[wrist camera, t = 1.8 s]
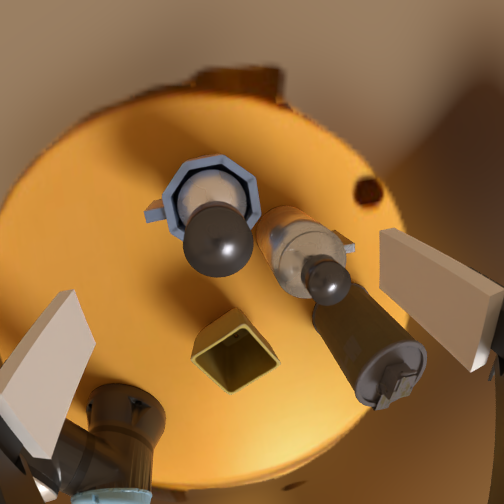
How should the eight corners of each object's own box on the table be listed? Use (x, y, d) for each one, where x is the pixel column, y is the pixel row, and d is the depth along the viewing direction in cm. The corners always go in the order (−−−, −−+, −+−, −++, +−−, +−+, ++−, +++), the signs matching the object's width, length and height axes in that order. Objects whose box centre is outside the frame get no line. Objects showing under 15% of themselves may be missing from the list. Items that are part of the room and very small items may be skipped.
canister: (317, 282, 48) (379, 360, 29) (375, 281, 50) (450, 347, 31) (307, 342, 51) (352, 429, 33) (361, 338, 53) (419, 413, 34)
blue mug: (167, 231, 42) (154, 262, 31) (153, 165, 39) (133, 173, 28) (248, 215, 43) (265, 240, 32) (237, 149, 40) (251, 149, 29)
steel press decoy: (260, 266, 46) (292, 332, 29) (251, 211, 43) (283, 253, 27) (326, 252, 47) (386, 307, 30) (322, 198, 44) (387, 231, 28)
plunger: (185, 241, 32) (175, 306, 19) (172, 176, 30) (148, 199, 17) (250, 228, 33) (282, 285, 20) (239, 163, 30) (267, 176, 17)
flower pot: (237, 291, 47) (245, 322, 38) (269, 330, 50) (282, 365, 41) (189, 323, 47) (188, 359, 39) (224, 359, 50) (229, 396, 42)
